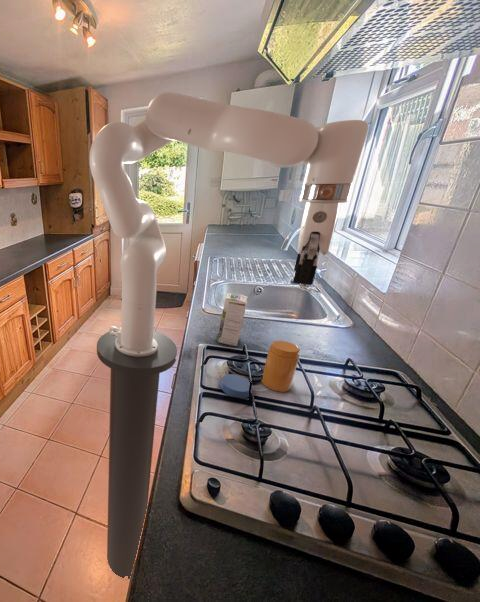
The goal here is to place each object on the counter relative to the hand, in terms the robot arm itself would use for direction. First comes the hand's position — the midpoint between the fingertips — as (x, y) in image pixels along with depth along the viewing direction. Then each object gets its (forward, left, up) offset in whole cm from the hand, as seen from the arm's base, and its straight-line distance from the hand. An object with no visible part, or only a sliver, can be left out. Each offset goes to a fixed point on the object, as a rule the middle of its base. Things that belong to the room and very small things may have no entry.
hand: (302, 277), depth 65 cm
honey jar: (0, -2, -26) cm, 27 cm away
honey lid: (-8, -10, -25) cm, 28 cm away
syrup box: (-13, +15, -27) cm, 33 cm away
